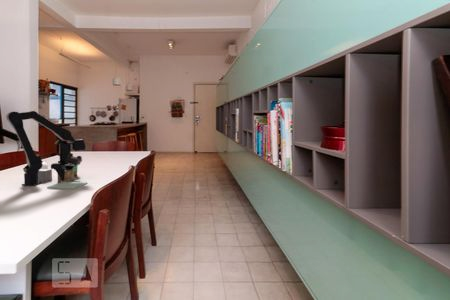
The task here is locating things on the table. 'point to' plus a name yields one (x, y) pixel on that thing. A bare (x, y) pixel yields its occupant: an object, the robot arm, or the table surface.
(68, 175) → the tan cube
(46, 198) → the table surface
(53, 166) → the robot arm
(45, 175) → the medium grey block
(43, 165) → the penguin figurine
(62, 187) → the sage mat
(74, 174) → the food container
